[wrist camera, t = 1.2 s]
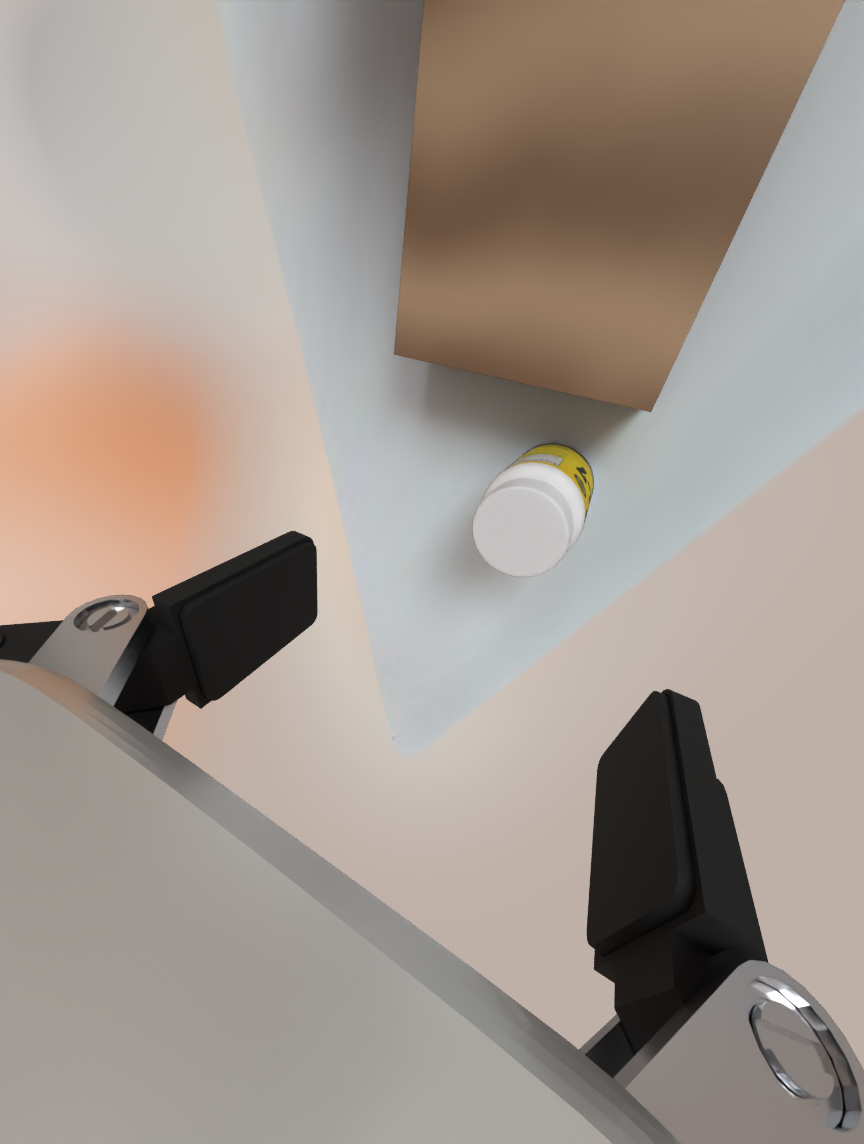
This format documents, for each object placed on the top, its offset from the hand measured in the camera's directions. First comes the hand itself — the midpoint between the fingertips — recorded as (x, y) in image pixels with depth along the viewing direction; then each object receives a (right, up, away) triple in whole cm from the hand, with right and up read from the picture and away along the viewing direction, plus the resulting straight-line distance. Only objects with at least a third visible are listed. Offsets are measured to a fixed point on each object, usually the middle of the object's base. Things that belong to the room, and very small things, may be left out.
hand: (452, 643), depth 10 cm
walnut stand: (+6, +17, +6) cm, 19 cm away
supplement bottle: (+7, +7, +12) cm, 15 cm away
